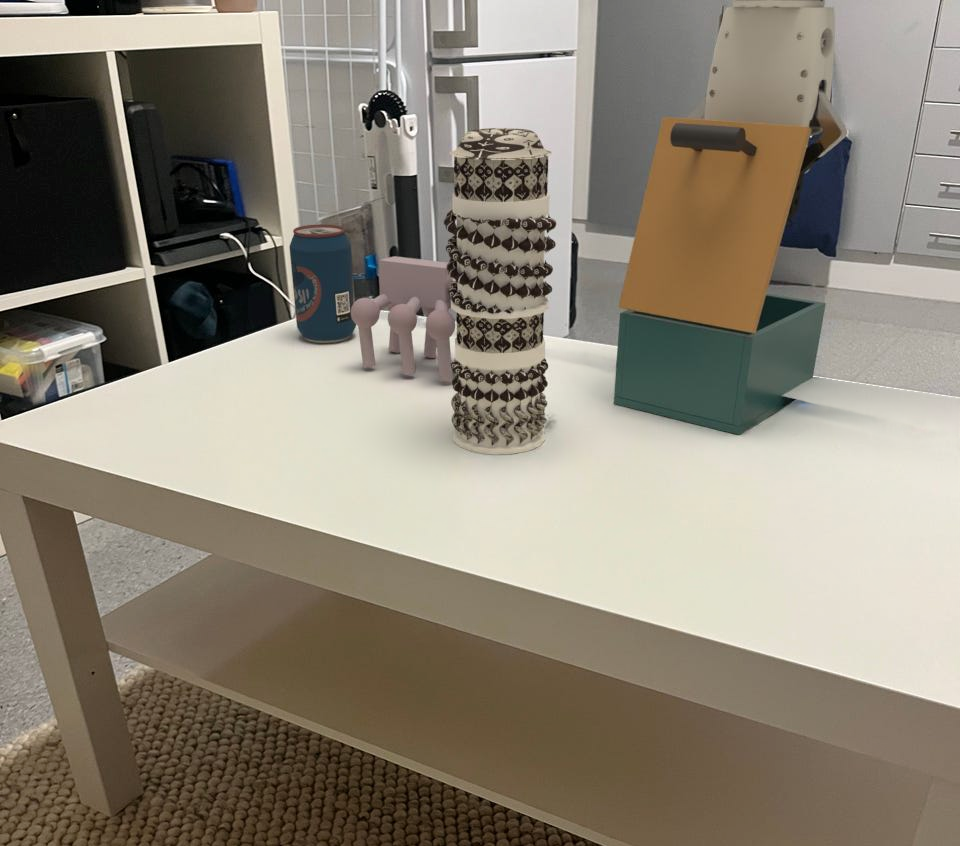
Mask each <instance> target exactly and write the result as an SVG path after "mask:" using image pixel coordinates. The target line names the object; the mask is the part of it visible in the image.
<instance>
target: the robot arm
mask: <svg viewBox="0 0 960 846" xmlns="http://www.w3.org/2000/svg"><path fill="white" fill-rule="evenodd" d="M732 1H733V2H732V6H726V7H725V10H724V13H723V16H722V20H721V23H720V27H719V30H718V34H717V38H716V42H715V46H714V50H713V55H712V61H711V65H710V70H709V76H708V82H707V89H706V93H705V95H704V96H703V97H702V98H701V100H700V101H699V102H698V103H697V104H696V105H695V106H694V107H693V109H692V110H691V111H690V112H689V113H688V114H687V116H686V117H685V118H688V119H703V120H717V121H732V122H747V123H762V124H776V125H791V126H806V127H809V128H811V129H812V130H811V134H810V137H813V136H816V135H819V134H820V133H821V135H820V136H819V137H818V138H817V140H814V142H813V143H810V144H809V143H808V144H809V145H808V144H807V148H806V152H805V155H804V159H803V163H802V166H801V170H800V173H799V177H798V181H797V184H796V188H795V192H794V195H793V199H792V202H791V206H790V210H789V213H788V217H787V218H789V219H790V220H791V221H792V220H793V219H794V216H795V214H796V213H797V212H798V211H799V207H800V201H801V194H802V189H803V181H804V175H805V174H806V173H808V172H809V171H810V169H811V168H812V167H814V165H815V164H816V163H818V162H819V161H820V160H821V159H822V158H824V156H825V155H826V154H827V153H828V152H829V151H831V150H832V149H833V148H834V147H836V146H837V145H838V144H839V143H840V142H841V141H843V140H844V139H845V138H846V137H847V135H848V129H847V127H846V125H845V123H844V122H843V121H842V119H841V117H840V116H839V114H838V112H837V111H836V109H835V107H834V105H833V104H832V103H831V98H832V97H831V95H832V88H833V87H832V86H833V74H834V65H835V64H834V61H835V42H836V41H835V39H836V36H835V35H836V24H835V22H836V21H835V18H836V17H835V7H834V6H832V7H831V6H827V7H825V3H826V0H732ZM788 222H790V221H789V220H787V221H786V223H788Z"/></svg>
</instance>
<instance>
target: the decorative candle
mask: <svg viewBox="0 0 960 846" xmlns="http://www.w3.org/2000/svg"><path fill="white" fill-rule="evenodd" d="M551 155H553V153H552V151H551V150H547V149H545V148H544V145H543V144H542V141H541V139H540V137H539V135H538V134H537V133H536V132H535V131H533V130H529V129H525V128H512V127H511V128H510V127H491V128H490V127H489V128H479V129H478V128H477V129H471V130H469V131H467V132H465V133H464V134H463V136H462V137H461V140H460V141H459V144H458V146H457V148H455V150H453V151H449V156H452V157H453V183H454V185H453V186H454V187H453V190H454V192H452V193H451V194H452V195H451V197H452V198H451V199H452V209H450V210H449V211H448V212H447V214H446V215H445V216H446V217H444V219H443V225H444V226H445V230H446V231H447V232H448V233H450V234H452V237H450V238H448V239H447V244H446V246H445V251H446V253H448V256H449V260H448V261H449V262H447V263H448V264H447V266H446V268H447V270H448V274H449V276H450V277H451V278H454V279H455V280H456V281H455V282H453V283H452V284H451V288H450V290H449V296H450V297H451V308H450V309H451V310H452V311H453V312H456V313H455V317H456V319H455V328H456V337H455V338H454V359H453V360H451V368H452V374H454V375H455V376H454V377H453V378H452V379H451V380H450V381H451V386H452V390H453V391H455V392H456V393H455V394H454V395H453V396H452V398H451V401H450V404H451V408H452V409H453V413H452V415H451V423H452V425H453V428H454V429H453V431H452V432H453V434H452V435H453V442H454V443H456V445H457V446H458V447H460V448H462V449H465V450H468V451H470V452H473V453H478V454H486V455H514V454H521V453H525V452H529V451H532V450H533V449H536V448H539V447H540V446H541V445H543V443H544V442H545V441H546V434H545V430H544V428H545V424H546V423H547V422H548V419H547V418H546V413H545V411H546V408H547V406H548V401H547V400H546V398H547V397H546V394H545V393H544V391H545V390H546V388H547V387H548V386H549V385H548V384H549V382H548V381H547V377H546V376H545V374H546V371H548V369H549V363H548V361H547V359H546V358H545V354H546V341H545V338H544V321H545V320H544V319H545V317H544V316H545V312H546V311H547V310H548V309H550V301H549V298H548V297H547V295H550V294H551V293H552V292H553V286H551V285H550V284H549V283H547V281H546V280H544V279H546V278H547V277H548V276H550V275H551V274H552V273H553V272H554V268H553V266H552V265H551V264H549V263H548V262H547V259H545V255H546V254H547V253H549V252H550V251H551V250H553V249H554V248H555V247H556V243H557V242H555V240H554V239H552V238H551V237H550V236H549V235H547V236H546V235H545V234H549V233H550V232H551V231H552V230H554V229H555V228H556V227H557V221H556V219H554V218H552V217H551V216H550V194H549V192H548V184H549V156H551ZM546 216H547V217H546ZM450 258H451V259H450Z"/></svg>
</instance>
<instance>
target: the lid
mask: <svg viewBox="0 0 960 846" xmlns="http://www.w3.org/2000/svg"><path fill="white" fill-rule="evenodd" d="M811 130H812V129H811V128H809V127H806V126H791V125H776V124H762V123H747V122H732V121H717V120H703V119H688V118H686V117H670V116H663V117H662V119H661V124H660V129H659V133H658V137H657V141H656V145H655V149H654V153H653V158H652V162H651V166H650V171H649V175H648V179H647V183H646V187H645V192H644V195H643V201H642V204H641V208H640V214H639V216H638V217H639V218H638V220H637V221H638V222H637V226H636V231H635V233H634V238H633V242H632V247H631V251H630V256H629V260H628V264H627V269H626V273H625V277H624V281H623V286H622V290H621V293H620V297H619V302H618V309H622V310H626V311H627V310H632V311H637V312H643V313H648V314H653V315H659V316H664V317H669V318H675V319H680V320H685V321H691V322H696V323H701V324H706V325H712V326H717V327H722V328H728V329H733V330H738V331H744V332H749V333H754V334H755V333H756V329H757V326H758V322H759V318H760V315H761V311H762V308H763V304H764V300H765V297H766V293H767V294H768V289H769V286H770V282H771V278H772V275H773V271H774V267H775V264H776V261H777V256H778V253H779V249H780V247H781V246H780V245H781V243H782V239H783V234H784V232H785V227H786V226H785V225H786V224H787V222H786V221H787V217H788V213H789V210H790V206H791V202H792V199H793V195H794V192H795V188H796V184H797V181H798V177H799V173H800V170H801V166H802V163H803V159H804V155H805V152H806V148H807V144H809V142H810V141H809V140H810V137H811V136H810V134H811Z"/></svg>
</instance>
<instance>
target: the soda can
mask: <svg viewBox="0 0 960 846" xmlns="http://www.w3.org/2000/svg"><path fill="white" fill-rule="evenodd" d="M345 232H346V230H345V227H344V226H341V225H336V224H306V225H301V226H297V227H295V228H293V230H292V233H293V235H292V238H291V241H290V243H289V247H288V248H289V256H290V257H289V258H290V267H291V268H290V269H291V278H292V279H291V280H292V289H293V300H294V311H295V323H296V329H297V330H298V331H299V333H300V334H301V335H300V336H302V337H303V339H304V340H305V341H307V342H309V343H315V344H336V343H342V342H345V341H348V340H349V339H351V337H352V335H353V333H354V332H355V329H356V327H357V325H356V324H355V323H354V321H353V320H352V317H351V308H352V305H353V304H354V303H355V301H356V298H355V286H354V271H353V270H354V269H353V254H352V244H351V242H350V240H349V238H348V236H347V235H346V233H345Z"/></svg>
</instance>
